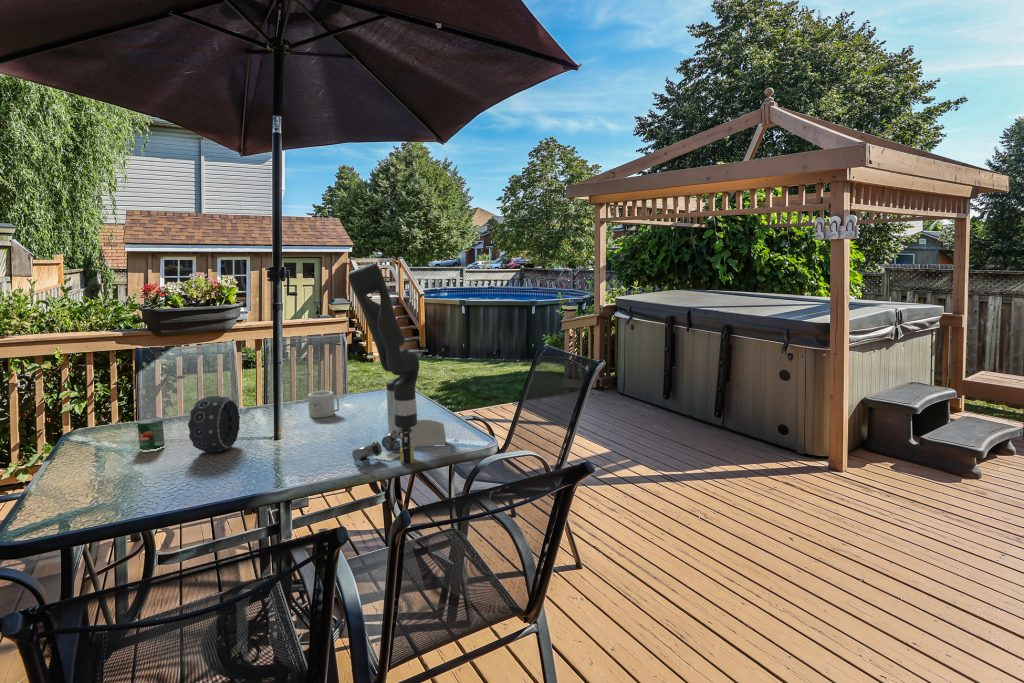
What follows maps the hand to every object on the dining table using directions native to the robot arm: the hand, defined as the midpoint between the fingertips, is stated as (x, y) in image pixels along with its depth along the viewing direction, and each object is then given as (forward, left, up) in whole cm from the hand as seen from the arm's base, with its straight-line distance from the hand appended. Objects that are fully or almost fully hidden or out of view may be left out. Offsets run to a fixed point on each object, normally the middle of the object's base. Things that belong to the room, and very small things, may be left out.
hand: (407, 459), depth 202 cm
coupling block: (0, 0, 0) cm, 0 cm away
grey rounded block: (-18, -4, -1) cm, 19 cm away
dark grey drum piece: (+14, -71, -1) cm, 72 cm away
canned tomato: (+21, -95, -1) cm, 97 cm away
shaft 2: (-9, -12, 0) cm, 15 cm away
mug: (-38, -65, -1) cm, 75 cm away
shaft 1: (+7, -12, 0) cm, 14 cm away
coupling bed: (-1, -9, 0) cm, 9 cm away
